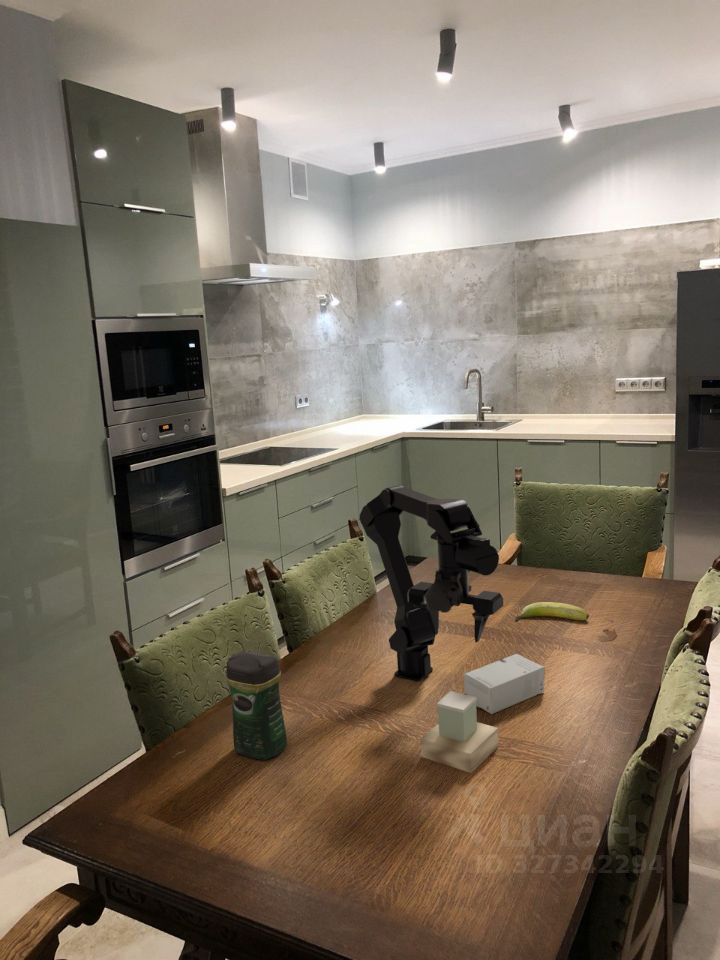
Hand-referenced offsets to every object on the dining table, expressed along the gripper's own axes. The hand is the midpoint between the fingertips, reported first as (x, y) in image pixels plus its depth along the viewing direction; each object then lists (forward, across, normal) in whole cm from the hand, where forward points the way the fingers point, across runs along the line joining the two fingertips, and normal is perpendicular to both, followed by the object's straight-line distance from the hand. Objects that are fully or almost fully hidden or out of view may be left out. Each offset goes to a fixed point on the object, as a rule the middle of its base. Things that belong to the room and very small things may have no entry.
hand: (456, 638), depth 156 cm
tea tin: (+10, +9, -18) cm, 22 cm away
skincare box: (+10, +11, +12) cm, 19 cm away
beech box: (+14, +9, -18) cm, 24 cm away
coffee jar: (+13, -24, -34) cm, 44 cm away
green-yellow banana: (+14, +2, +49) cm, 51 cm away
